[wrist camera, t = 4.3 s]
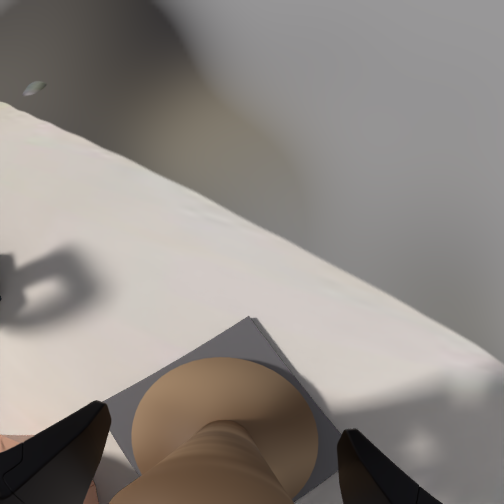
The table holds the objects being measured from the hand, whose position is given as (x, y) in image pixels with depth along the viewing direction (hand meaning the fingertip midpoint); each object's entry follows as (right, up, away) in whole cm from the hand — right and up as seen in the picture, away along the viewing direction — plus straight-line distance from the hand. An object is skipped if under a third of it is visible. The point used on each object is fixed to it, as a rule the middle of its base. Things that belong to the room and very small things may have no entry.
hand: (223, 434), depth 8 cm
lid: (-1, -5, +5) cm, 7 cm away
